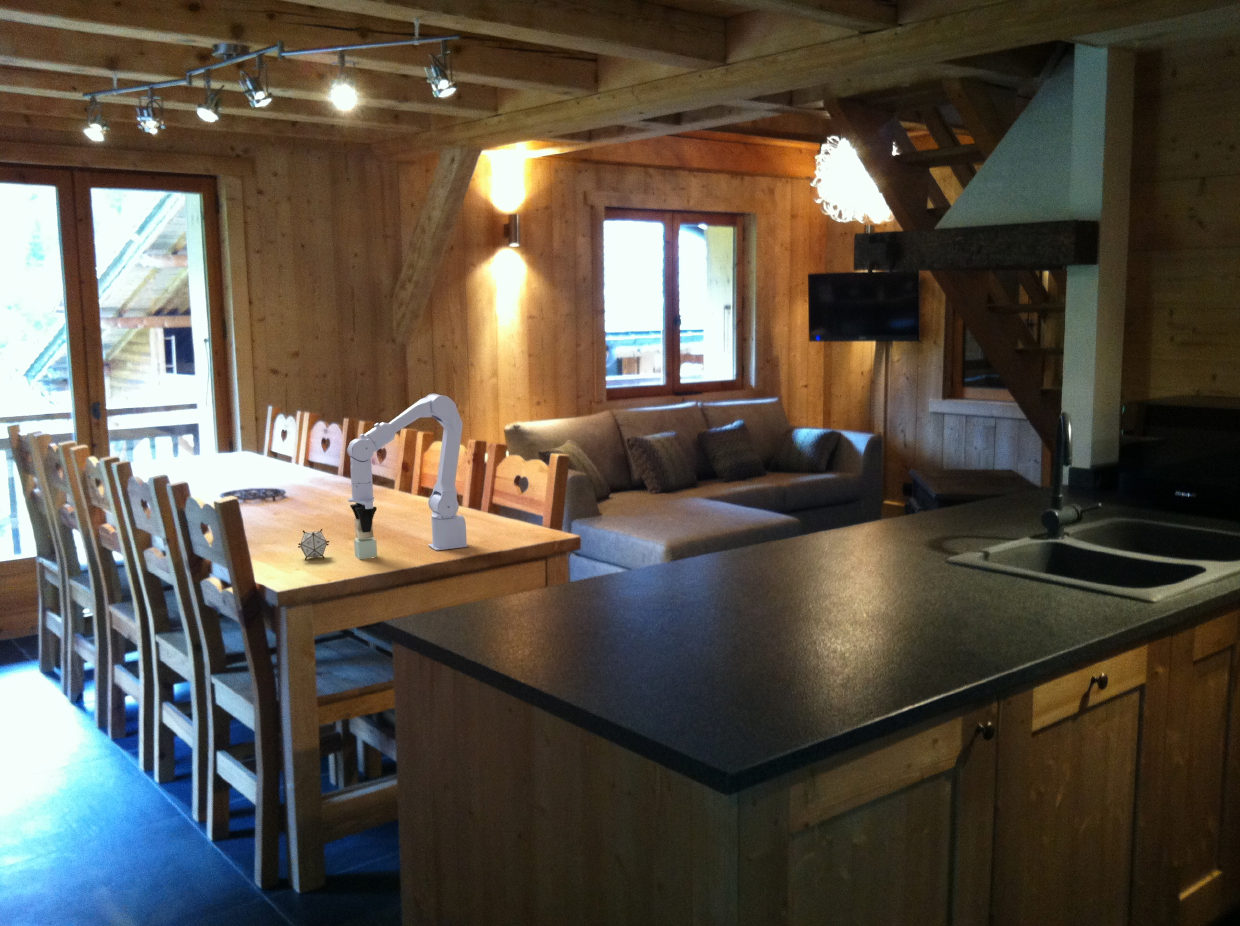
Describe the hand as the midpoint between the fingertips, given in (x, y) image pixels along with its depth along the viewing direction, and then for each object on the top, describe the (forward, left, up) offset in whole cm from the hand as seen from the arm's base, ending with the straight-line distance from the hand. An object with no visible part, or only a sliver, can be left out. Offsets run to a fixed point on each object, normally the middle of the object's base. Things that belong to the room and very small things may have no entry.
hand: (364, 530), depth 302 cm
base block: (0, 0, -8) cm, 8 cm away
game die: (+13, -6, -8) cm, 16 cm away
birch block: (0, 0, -2) cm, 2 cm away
